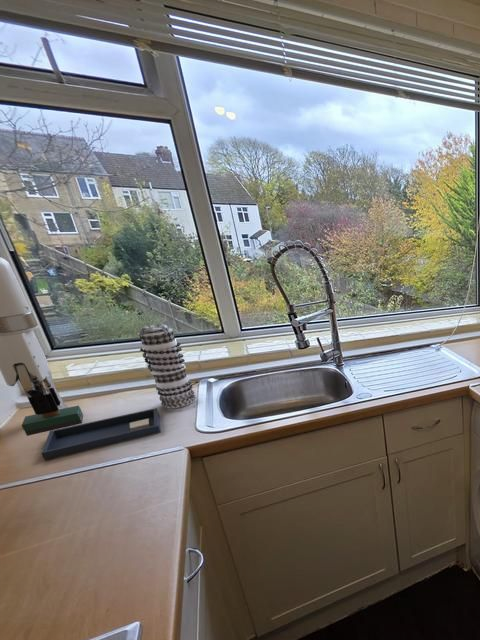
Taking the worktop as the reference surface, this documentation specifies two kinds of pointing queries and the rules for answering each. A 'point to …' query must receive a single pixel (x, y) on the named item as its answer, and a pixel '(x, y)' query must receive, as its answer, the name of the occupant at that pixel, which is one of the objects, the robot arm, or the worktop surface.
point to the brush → (52, 419)
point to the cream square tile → (139, 424)
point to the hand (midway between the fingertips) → (48, 408)
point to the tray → (98, 434)
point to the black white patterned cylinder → (166, 366)
